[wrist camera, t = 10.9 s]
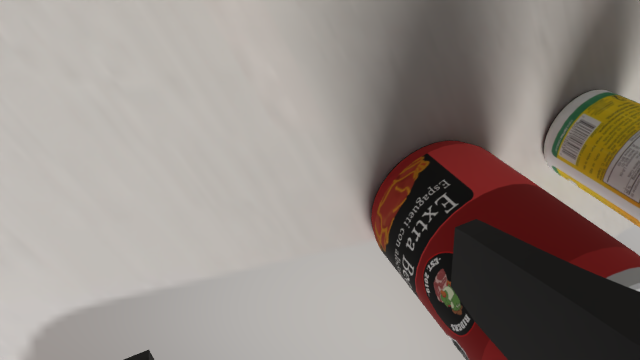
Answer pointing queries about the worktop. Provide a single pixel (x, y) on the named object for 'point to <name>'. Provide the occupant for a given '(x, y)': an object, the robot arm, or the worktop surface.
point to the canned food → (489, 207)
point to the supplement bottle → (599, 149)
